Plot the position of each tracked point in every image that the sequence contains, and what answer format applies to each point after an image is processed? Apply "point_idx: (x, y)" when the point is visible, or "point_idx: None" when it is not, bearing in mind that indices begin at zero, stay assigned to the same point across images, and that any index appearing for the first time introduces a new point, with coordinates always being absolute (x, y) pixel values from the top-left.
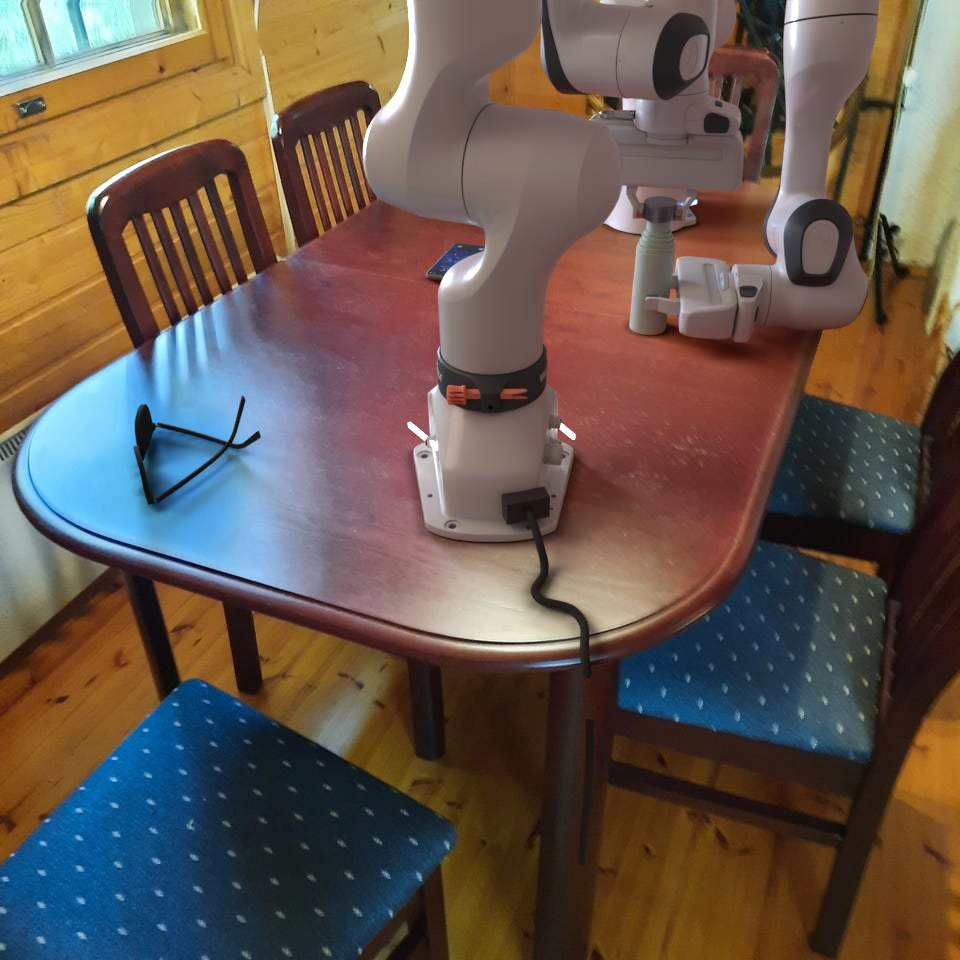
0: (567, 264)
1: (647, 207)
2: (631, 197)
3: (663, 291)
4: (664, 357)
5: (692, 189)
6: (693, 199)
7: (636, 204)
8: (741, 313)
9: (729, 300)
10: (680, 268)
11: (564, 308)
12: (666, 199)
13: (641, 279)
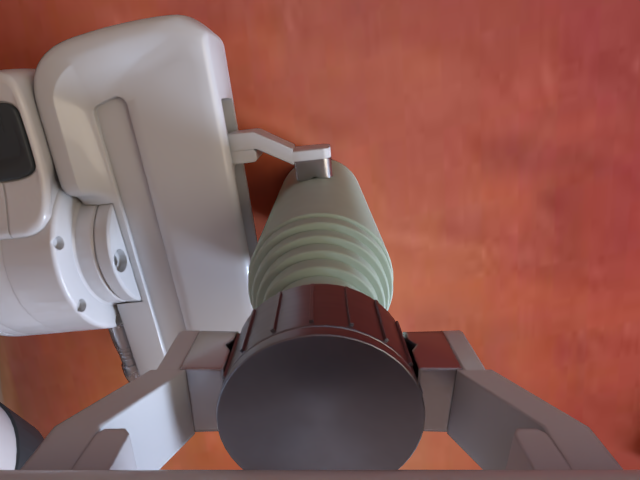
0: None
1: (398, 353)
2: (530, 409)
3: (283, 194)
4: (266, 51)
5: (35, 471)
6: (83, 417)
7: (471, 376)
8: (30, 70)
9: (62, 105)
10: None
11: (507, 252)
12: (289, 456)
13: (353, 197)
